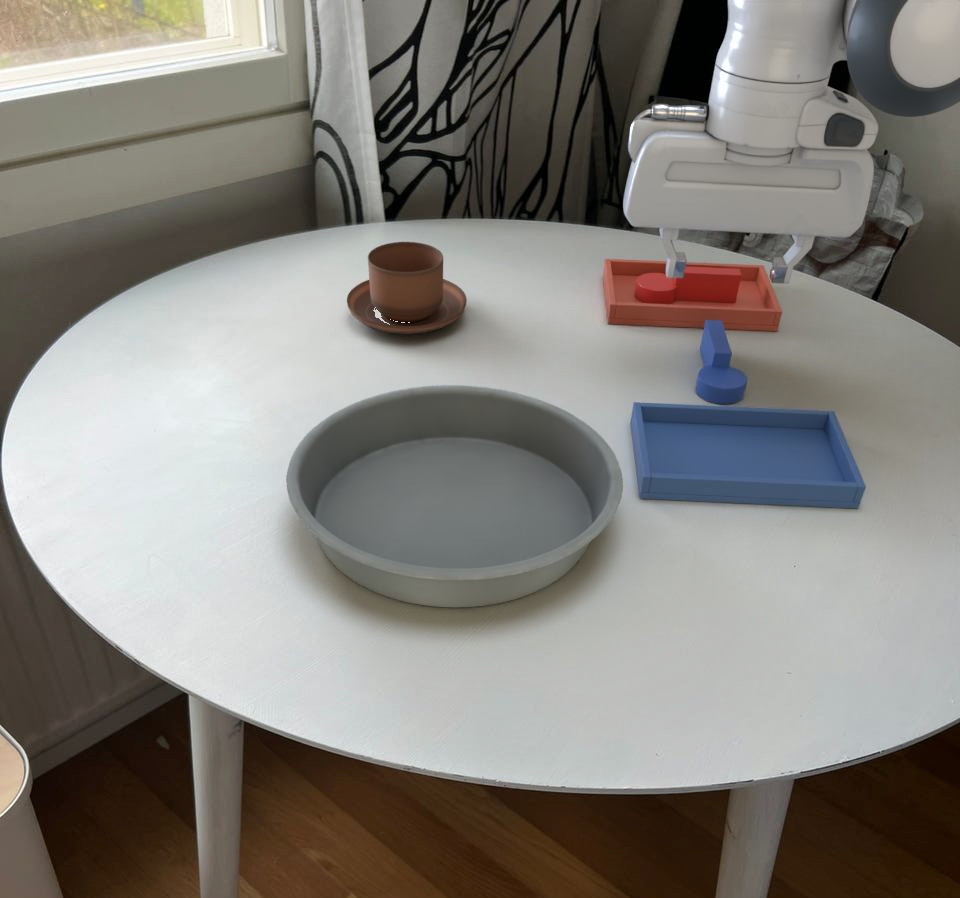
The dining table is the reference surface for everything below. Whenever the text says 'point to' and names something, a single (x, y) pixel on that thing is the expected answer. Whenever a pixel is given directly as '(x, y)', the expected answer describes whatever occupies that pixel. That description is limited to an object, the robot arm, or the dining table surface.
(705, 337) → the blue lever handle
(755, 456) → the tray blue
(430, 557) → the cake pan
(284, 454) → the dining table surface
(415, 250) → the cup and saucer
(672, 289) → the red lever handle
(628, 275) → the tray red
